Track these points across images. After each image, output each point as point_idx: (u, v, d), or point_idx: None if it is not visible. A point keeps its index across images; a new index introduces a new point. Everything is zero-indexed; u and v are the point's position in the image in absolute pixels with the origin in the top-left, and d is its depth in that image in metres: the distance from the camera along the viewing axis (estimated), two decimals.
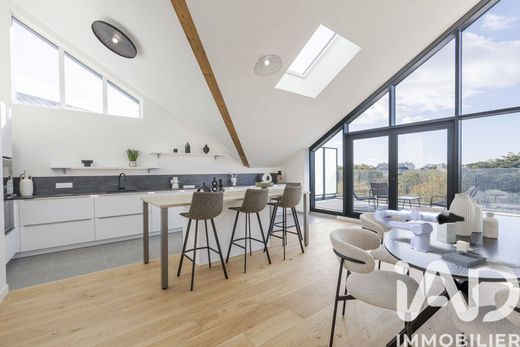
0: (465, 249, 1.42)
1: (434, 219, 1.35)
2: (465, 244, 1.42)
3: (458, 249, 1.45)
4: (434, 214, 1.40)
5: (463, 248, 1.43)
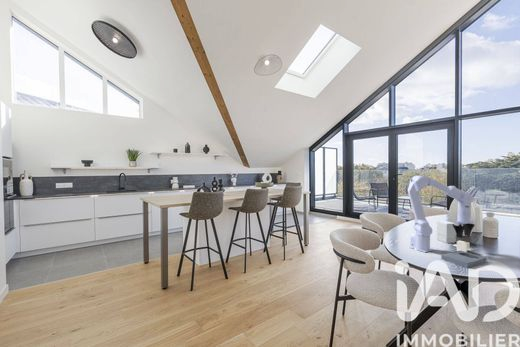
0: (465, 249, 1.42)
1: (456, 223, 1.41)
2: (465, 244, 1.42)
3: (458, 249, 1.45)
4: (465, 218, 1.41)
5: (463, 248, 1.43)
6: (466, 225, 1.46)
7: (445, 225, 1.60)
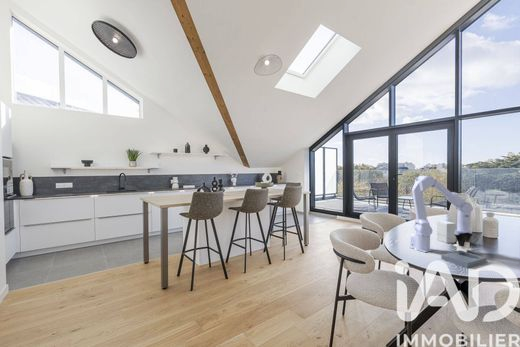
0: (465, 249, 1.42)
1: (455, 232, 1.41)
2: (465, 244, 1.42)
3: (458, 249, 1.45)
4: (465, 227, 1.41)
5: (463, 248, 1.43)
6: (464, 234, 1.45)
7: (445, 225, 1.60)
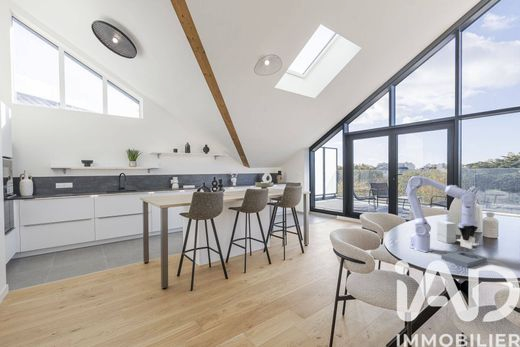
0: (470, 244, 1.31)
1: (460, 225, 1.30)
2: (469, 239, 1.31)
3: (462, 244, 1.34)
4: (470, 219, 1.30)
5: (468, 243, 1.32)
6: (468, 228, 1.34)
7: (445, 225, 1.60)
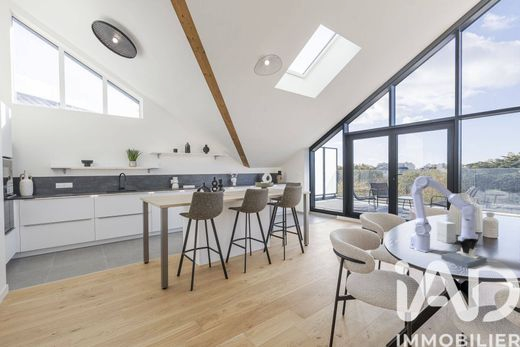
0: (470, 257, 1.30)
1: (459, 238, 1.29)
2: (470, 252, 1.30)
3: None
4: (470, 232, 1.29)
5: (468, 256, 1.31)
6: (468, 240, 1.33)
7: (445, 225, 1.60)
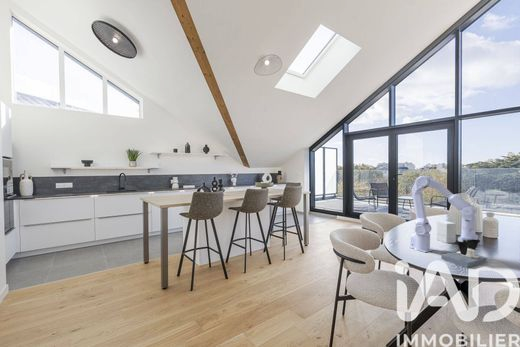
0: (470, 257, 1.30)
1: (459, 239, 1.29)
2: (469, 252, 1.30)
3: None
4: (470, 233, 1.29)
5: (468, 256, 1.31)
6: (471, 241, 1.34)
7: (445, 225, 1.60)
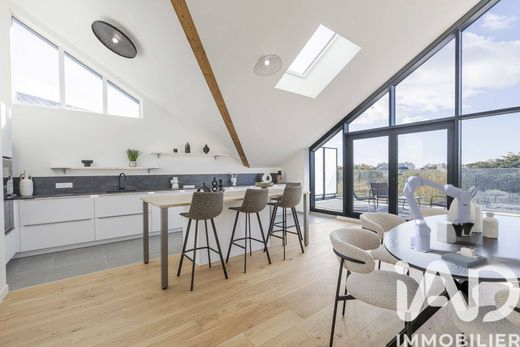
0: (470, 257, 1.30)
1: (455, 222, 1.37)
2: (469, 252, 1.30)
3: None
4: (465, 216, 1.37)
5: (468, 256, 1.31)
6: (466, 224, 1.42)
7: (445, 225, 1.60)
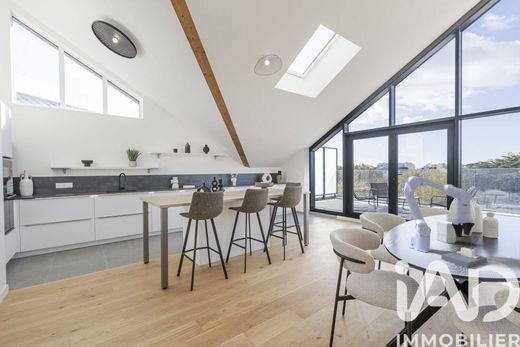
0: (470, 257, 1.30)
1: (455, 222, 1.37)
2: (470, 252, 1.30)
3: None
4: (465, 216, 1.37)
5: (468, 256, 1.31)
6: (466, 224, 1.42)
7: (445, 225, 1.60)
